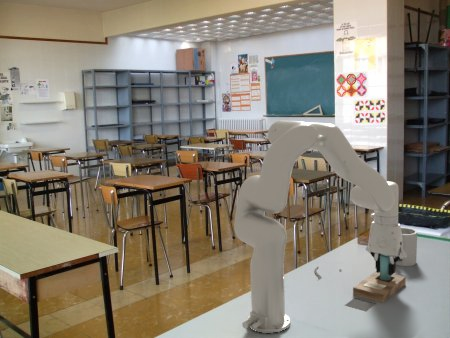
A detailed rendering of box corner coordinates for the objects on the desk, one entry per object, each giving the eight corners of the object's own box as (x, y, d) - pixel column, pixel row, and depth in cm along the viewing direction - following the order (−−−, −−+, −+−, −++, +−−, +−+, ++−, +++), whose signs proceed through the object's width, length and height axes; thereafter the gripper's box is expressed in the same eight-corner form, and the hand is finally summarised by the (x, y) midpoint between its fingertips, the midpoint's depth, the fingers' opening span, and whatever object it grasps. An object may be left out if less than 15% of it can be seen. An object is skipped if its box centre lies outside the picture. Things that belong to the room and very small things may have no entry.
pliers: (340, 266, 186) (344, 288, 167) (340, 269, 186) (344, 290, 167) (314, 266, 188) (315, 287, 168) (314, 268, 188) (315, 290, 168)
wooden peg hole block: (382, 304, 155) (383, 294, 155) (353, 296, 162) (353, 286, 161) (405, 285, 168) (405, 276, 168) (377, 278, 175) (377, 269, 174)
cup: (412, 257, 194) (413, 227, 192) (419, 266, 185) (420, 234, 183) (388, 257, 195) (388, 227, 193) (393, 266, 186) (394, 234, 184)
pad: (366, 313, 150) (366, 311, 150) (344, 307, 154) (344, 305, 154) (376, 304, 155) (376, 302, 155) (355, 299, 159) (355, 297, 159)
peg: (388, 281, 165) (388, 258, 164) (377, 279, 167) (378, 256, 166) (392, 277, 168) (393, 255, 166) (382, 275, 170) (382, 253, 169)
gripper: (357, 218, 167) (357, 271, 170) (406, 226, 156) (405, 282, 159) (367, 213, 172) (367, 264, 175) (415, 220, 161) (414, 274, 165)
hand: (385, 272), depth 167 cm, fingers closed on peg, 3 cm apart
